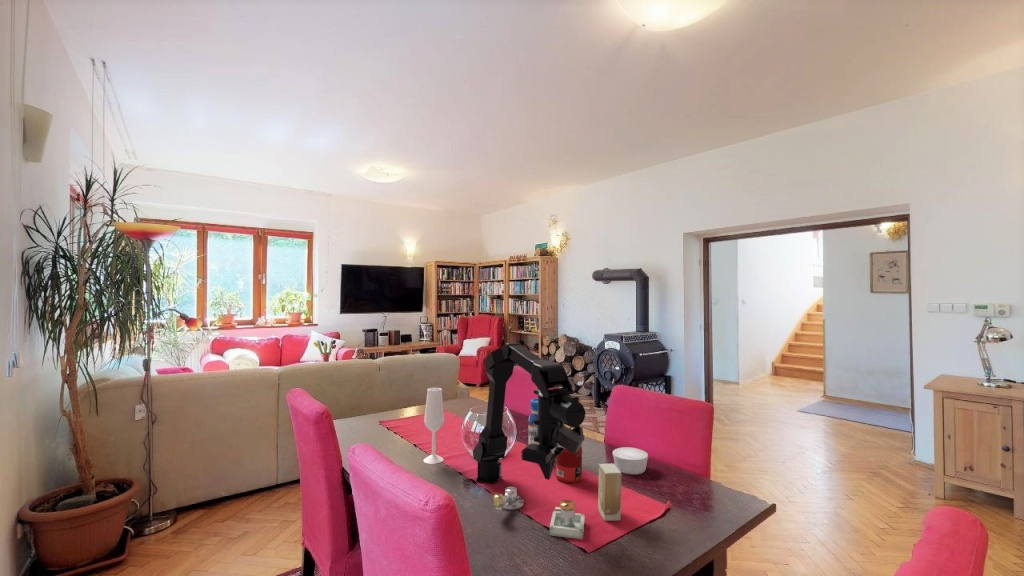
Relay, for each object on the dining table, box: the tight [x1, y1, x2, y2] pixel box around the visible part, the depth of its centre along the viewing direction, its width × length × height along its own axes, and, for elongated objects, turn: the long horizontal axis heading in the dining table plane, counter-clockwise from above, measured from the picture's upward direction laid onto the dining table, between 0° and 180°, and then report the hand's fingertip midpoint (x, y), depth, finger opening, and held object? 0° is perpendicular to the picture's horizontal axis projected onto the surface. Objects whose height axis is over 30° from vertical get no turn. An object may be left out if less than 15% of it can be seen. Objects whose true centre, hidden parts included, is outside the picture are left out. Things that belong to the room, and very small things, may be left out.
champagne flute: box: [423, 387, 445, 465], centre depth 148 cm, size 7×7×24 cm
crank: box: [493, 486, 518, 511], centre depth 115 cm, size 11×3×5 cm, turn 158°
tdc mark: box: [554, 506, 561, 511], centre depth 115 cm, size 3×1×1 cm, turn 78°
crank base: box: [502, 495, 525, 511], centre depth 118 cm, size 7×7×1 cm
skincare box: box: [597, 463, 623, 522], centre depth 113 cm, size 6×4×12 cm
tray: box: [549, 510, 586, 540], centre depth 106 cm, size 8×8×2 cm
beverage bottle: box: [527, 397, 539, 445], centre depth 151 cm, size 8×8×20 cm
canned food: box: [555, 443, 583, 484], centre depth 135 cm, size 8×8×11 cm
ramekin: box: [612, 446, 649, 476], centre depth 143 cm, size 11×11×5 cm
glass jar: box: [559, 499, 577, 528], centre depth 106 cm, size 4×4×6 cm
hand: (547, 478), depth 107 cm, fingers closed
